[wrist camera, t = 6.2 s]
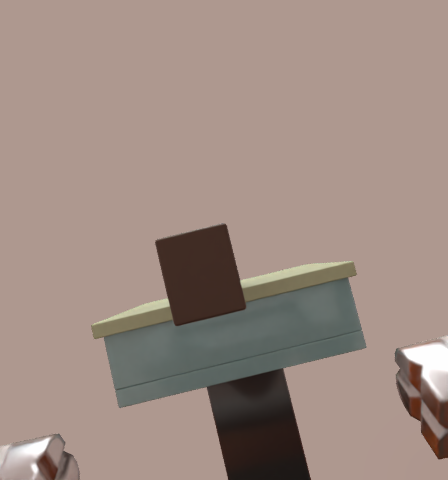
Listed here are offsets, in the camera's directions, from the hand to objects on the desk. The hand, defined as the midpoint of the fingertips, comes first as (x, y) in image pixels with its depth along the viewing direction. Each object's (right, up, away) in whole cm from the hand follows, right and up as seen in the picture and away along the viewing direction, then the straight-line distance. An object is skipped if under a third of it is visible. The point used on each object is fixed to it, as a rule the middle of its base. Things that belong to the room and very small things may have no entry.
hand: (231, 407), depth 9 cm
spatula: (0, 0, +13) cm, 13 cm away
